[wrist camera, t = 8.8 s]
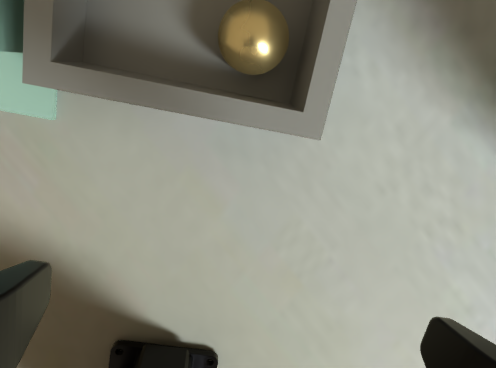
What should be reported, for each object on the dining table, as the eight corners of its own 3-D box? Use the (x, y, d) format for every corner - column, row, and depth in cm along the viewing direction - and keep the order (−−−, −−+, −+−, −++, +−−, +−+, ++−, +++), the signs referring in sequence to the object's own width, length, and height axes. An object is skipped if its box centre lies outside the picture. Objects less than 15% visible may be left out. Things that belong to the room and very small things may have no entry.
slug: (274, 79, 18) (280, 81, 16) (213, 67, 18) (212, 67, 16) (288, 13, 17) (296, 7, 15) (224, -1, 17) (224, -10, 15)
